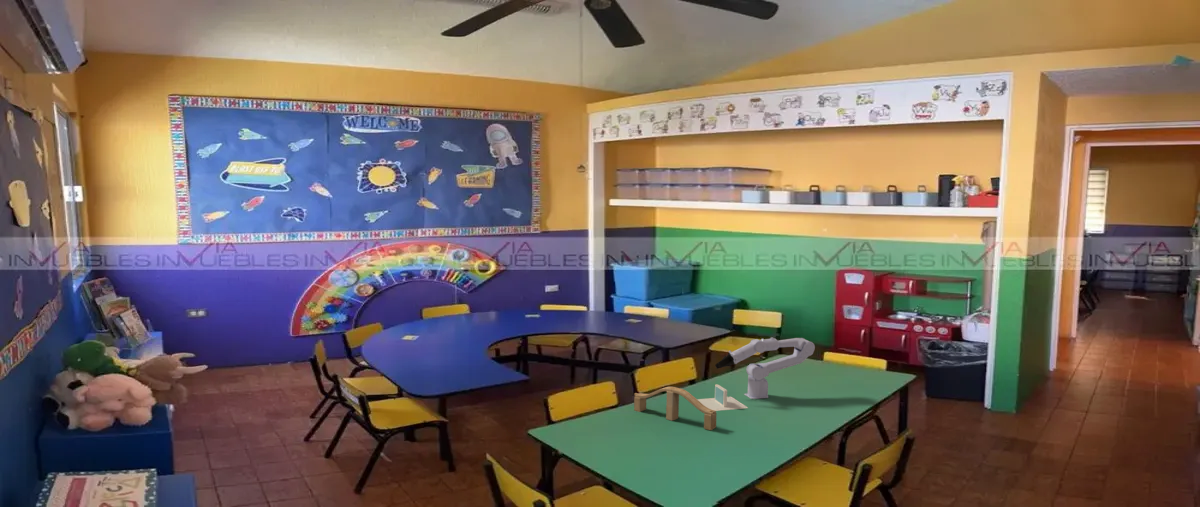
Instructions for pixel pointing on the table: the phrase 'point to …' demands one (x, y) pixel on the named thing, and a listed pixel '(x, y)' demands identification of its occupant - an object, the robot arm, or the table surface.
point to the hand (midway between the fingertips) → (717, 366)
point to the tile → (721, 395)
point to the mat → (716, 406)
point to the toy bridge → (677, 405)
